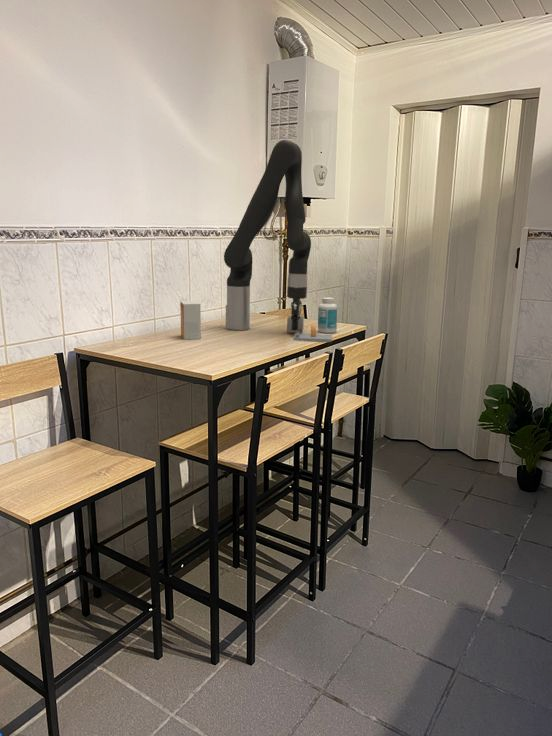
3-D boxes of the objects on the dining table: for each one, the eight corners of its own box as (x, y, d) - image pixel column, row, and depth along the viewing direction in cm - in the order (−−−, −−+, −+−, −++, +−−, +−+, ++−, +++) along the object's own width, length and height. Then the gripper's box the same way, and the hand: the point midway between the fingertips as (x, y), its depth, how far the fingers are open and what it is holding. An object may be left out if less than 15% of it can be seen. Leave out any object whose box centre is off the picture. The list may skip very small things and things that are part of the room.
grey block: (286, 331, 223) (287, 318, 221) (288, 328, 228) (288, 315, 227) (302, 331, 222) (302, 319, 221) (303, 329, 228) (303, 316, 227)
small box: (180, 335, 217) (179, 300, 213) (197, 335, 218) (197, 300, 215) (183, 339, 209) (183, 303, 206) (201, 339, 211) (200, 303, 208)
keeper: (293, 340, 211) (293, 327, 210) (295, 336, 220) (295, 323, 219) (331, 342, 210) (332, 328, 209) (332, 337, 219) (332, 324, 218)
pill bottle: (336, 330, 233) (337, 297, 230) (336, 333, 226) (337, 299, 223) (317, 329, 234) (319, 296, 231) (317, 333, 227) (318, 298, 224)
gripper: (289, 283, 228) (287, 325, 232) (285, 286, 214) (283, 331, 218) (308, 284, 227) (306, 326, 232) (305, 287, 214) (303, 332, 218)
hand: (295, 328), depth 225 cm, fingers closed on grey block, 6 cm apart
